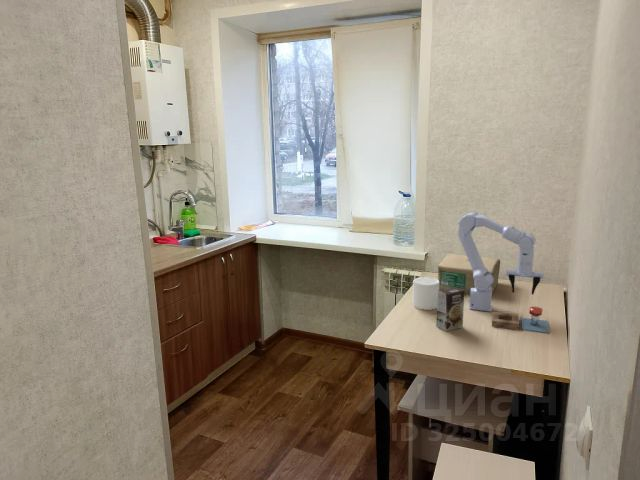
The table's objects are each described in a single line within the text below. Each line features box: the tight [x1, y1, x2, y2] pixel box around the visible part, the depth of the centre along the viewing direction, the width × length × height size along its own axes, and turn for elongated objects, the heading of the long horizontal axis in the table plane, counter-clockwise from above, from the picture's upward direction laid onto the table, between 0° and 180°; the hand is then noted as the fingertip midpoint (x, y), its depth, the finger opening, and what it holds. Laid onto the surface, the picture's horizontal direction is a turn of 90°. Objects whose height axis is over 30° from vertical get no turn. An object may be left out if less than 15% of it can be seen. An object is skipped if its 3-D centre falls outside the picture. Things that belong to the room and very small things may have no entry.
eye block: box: [491, 311, 520, 330], centre depth 194 cm, size 10×10×2 cm
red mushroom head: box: [528, 306, 543, 326], centre depth 190 cm, size 5×5×7 cm
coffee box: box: [435, 287, 465, 332], centre depth 190 cm, size 9×6×16 cm
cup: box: [412, 276, 439, 311], centre depth 214 cm, size 12×12×12 cm
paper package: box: [437, 253, 501, 295], centre depth 238 cm, size 27×26×14 cm
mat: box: [520, 317, 550, 334], centre depth 191 cm, size 10×12×1 cm
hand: (522, 292), depth 199 cm, fingers open, 7 cm apart
